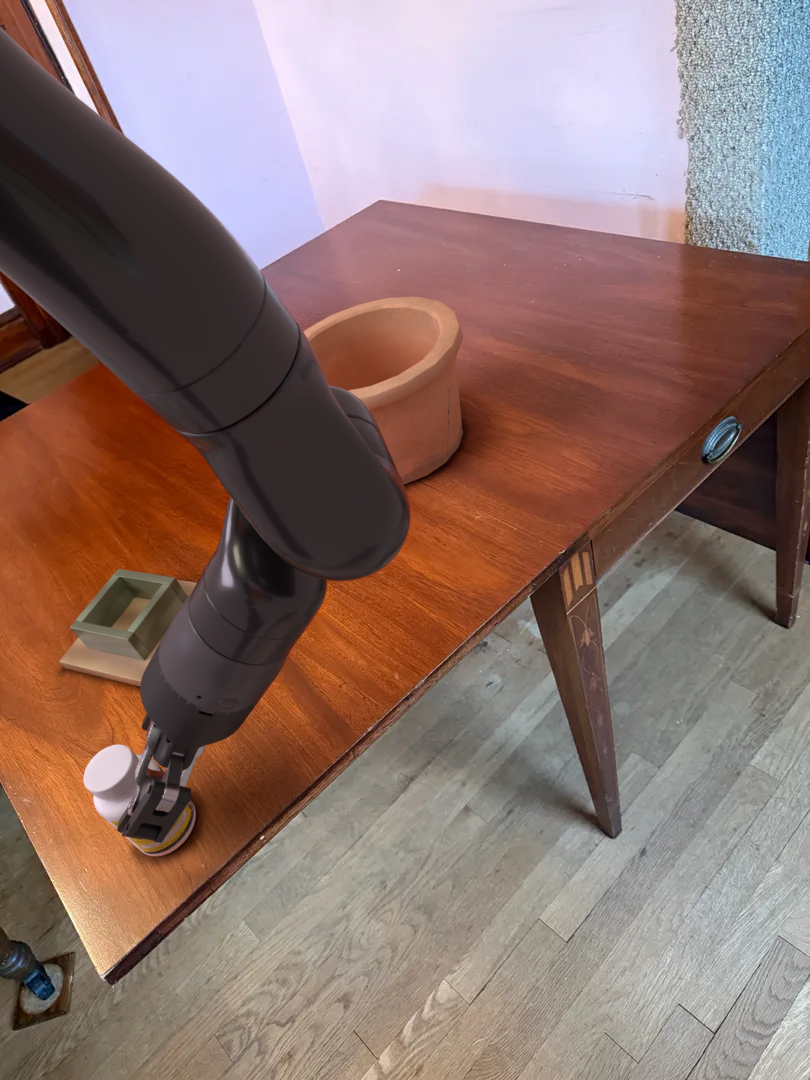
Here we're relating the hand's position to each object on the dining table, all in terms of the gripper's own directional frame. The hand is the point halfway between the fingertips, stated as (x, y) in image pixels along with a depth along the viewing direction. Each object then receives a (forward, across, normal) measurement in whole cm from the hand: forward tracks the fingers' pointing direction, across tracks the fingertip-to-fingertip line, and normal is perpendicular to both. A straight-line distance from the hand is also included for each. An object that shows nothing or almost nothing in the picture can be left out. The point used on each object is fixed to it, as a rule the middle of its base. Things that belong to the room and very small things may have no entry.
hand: (143, 777), depth 58 cm
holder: (+12, -24, -1) cm, 26 cm away
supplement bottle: (+7, 0, +4) cm, 8 cm away
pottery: (-9, -46, +20) cm, 51 cm away
